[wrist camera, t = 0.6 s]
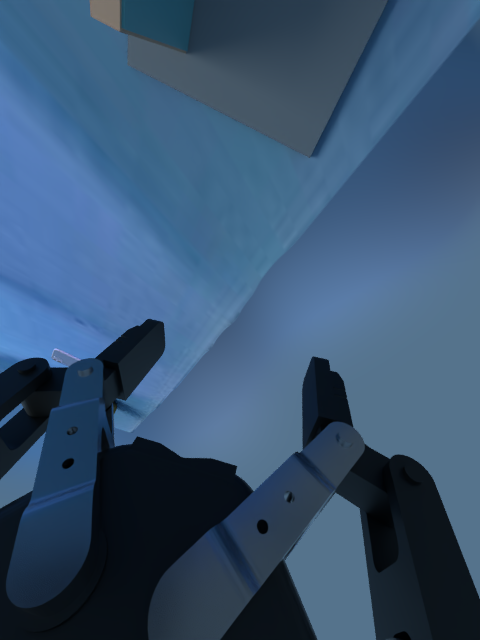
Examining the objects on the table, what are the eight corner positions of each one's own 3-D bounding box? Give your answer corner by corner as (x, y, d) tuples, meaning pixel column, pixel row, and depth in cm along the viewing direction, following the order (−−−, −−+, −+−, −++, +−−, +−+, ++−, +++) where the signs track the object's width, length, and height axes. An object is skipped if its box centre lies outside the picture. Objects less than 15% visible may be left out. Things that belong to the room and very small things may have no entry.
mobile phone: (96, 380, 80) (49, 359, 74) (98, 378, 80) (52, 356, 75) (103, 372, 75) (53, 349, 70) (104, 369, 76) (55, 346, 71)
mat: (131, 65, 26) (127, 64, 25) (139, -286, 15) (133, -300, 14) (309, 156, 29) (309, 157, 28) (425, -79, 18) (430, -84, 17)
